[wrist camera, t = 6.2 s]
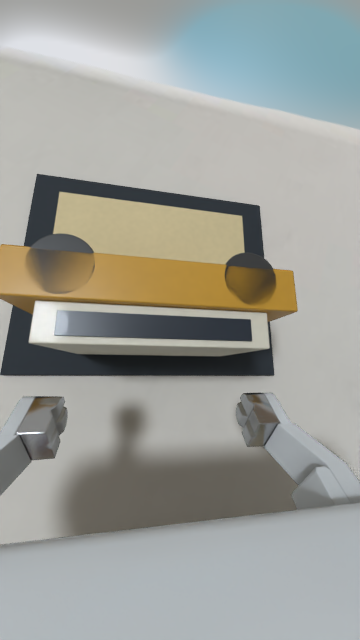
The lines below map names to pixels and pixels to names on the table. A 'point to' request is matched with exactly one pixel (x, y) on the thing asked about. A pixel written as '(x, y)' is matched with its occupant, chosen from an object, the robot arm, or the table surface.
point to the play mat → (142, 241)
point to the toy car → (143, 300)
